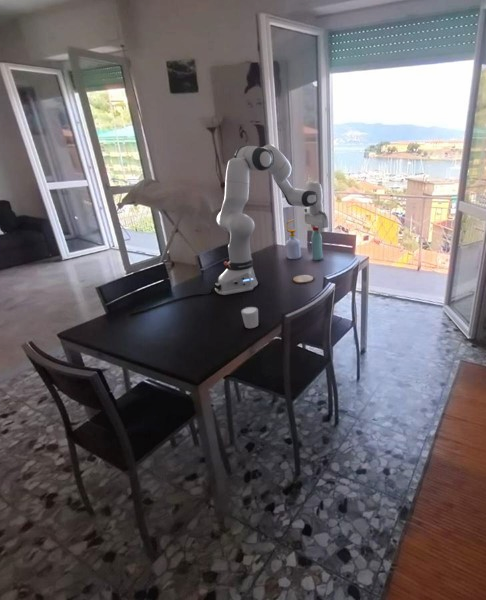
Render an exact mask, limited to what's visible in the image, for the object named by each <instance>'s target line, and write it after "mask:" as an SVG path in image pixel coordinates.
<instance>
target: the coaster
mask: <svg viewBox="0 0 486 600" xmlns="http://www.w3.org/2000/svg"><path fill="white" fill-rule="evenodd" d="M292 280H293V283H295V284H309V283H312V282H313V281H314V276H313V275H310V274H300V275H296V276H294V277H293V279H292Z"/></svg>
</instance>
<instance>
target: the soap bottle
mask: <svg viewBox="0 0 486 600" xmlns="http://www.w3.org/2000/svg"><path fill="white" fill-rule="evenodd" d="M294 221H295V219H294V218H293V219H290V220H288V221H287V222H286V231H287V232H288V233H290V234H289V239H288V240H286V242H285V247H286V256H287V259H288V260H298V259H300V258H301V257H302V251H301V250H302V249H301V241H300V240H299V239H298V238H296V234H295V233H296V231H297V229H289V228H290V227H289V223H292V222H294Z"/></svg>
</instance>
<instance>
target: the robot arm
mask: <svg viewBox="0 0 486 600" xmlns="http://www.w3.org/2000/svg"><path fill="white" fill-rule="evenodd" d="M266 170H268V171H269V173H270V174H271V175H272V178H273V180H274V182H275V184H276V185H277V187H278V189H280V191H281V193H282V194H283V196H284V198H285V201H286V203H287V204H288V205H289V206H292V207H303V212H304V213H303V217H304V218H303V219H304V223H305V224H307V225H310V228H311V230H312V233H313V232H314V230H313V227H314V226H317V227H318V228H319V229H318V231H317V233H318V234H321V235H322V230H323V229H326V228H328V227H329V219H328V214H327V213H326V212H325V211H324V204H323V187H322V184H321V183H320V182H313V181H310V182H309V181H308V183H307V185H306V186H305V187H304V188H302V189H301V188H295V187H293V186H292V185H291V183H290V181H289V180H288V178H289V177H290V175H291V174H292V165H291V163H290V161H289V159H287V158H286V156H285V155H284V154H283V153H282V152H281V151H280V150H279V148H278V147H276V146H275V145H274V144H272V143H269V144H265V145H264V146H256V145H242V146H240V147H239V148H237V149H236V150H235V153H234V156H233V158H230V159H229V160H228V162H227V166H226V172H225V180H224V181H225V184H224V185H225V186H224V198H223V202H222V206H221V208H220V209H221V210H220V212H218V214H217V216H216V223H217V225H218V226H219V228H220V229H222V230H223V231H224V232H227V233H229V237H230V238H229V243H228V245H227V251H228V257H229V261H223V265H224V266H225V267H226V269H225V270H224V271H223V272H222V273H221V274H220V275H219V276H218V278H217V282H215V283H214V286H212V288H210V291H209V292H207V293H194V294H190V295H185V296H180V297H177V298H175V299H172V300H168V301H166V302H162V303H160V304H158V305H157V304H156V305H155V306H152V307H149V308H145V309H140V310H137V311H132V312H131V313H130V314H131V315H137V314H140V313H144V312H147V311H150V310H154V309H156V308H159V307H162V306H165V305H168V304H170V303H173V302H176V301H180V300H183V299H187V298H191V297H196V296H206V295H211V294H213V290H214V291H215V292H216V294H218V295H221V296H226V295H232V294H238V293H243V292H249V291H252V290H254V288H255V287H257V286H258V285H259V281H258V280H257V277H256V274H255V270H254V268H255V267H254V259H253V258H252V252H251V237H252V234H253V233H254V231H255V228H256V225H255V220H254V219H253V218H252V217H250V216H249V215H248V214H246V213H243V211H244V208H245V205H246V204H247V203H248V201H249V194H250V193H249V191H250V175H251V172H252V171H261V172H263V171H266Z"/></svg>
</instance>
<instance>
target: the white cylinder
mask: <svg viewBox="0 0 486 600" xmlns="http://www.w3.org/2000/svg"><path fill="white" fill-rule="evenodd" d="M240 312H241V317H242V321H243V324H244V327H245V328H247V329H255V328H256V327H258V326H259V309H258V307H256V306H248V307H247V306H246V307H244V308H243V309H241V311H240Z"/></svg>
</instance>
